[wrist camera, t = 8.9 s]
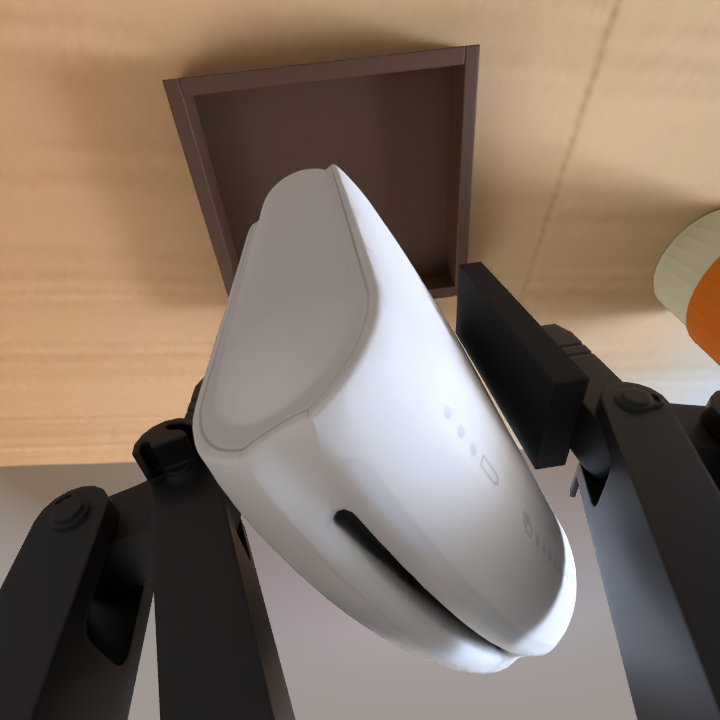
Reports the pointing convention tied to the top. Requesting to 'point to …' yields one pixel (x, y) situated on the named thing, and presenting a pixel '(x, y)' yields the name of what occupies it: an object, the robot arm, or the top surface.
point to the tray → (340, 146)
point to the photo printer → (376, 440)
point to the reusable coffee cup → (694, 281)
